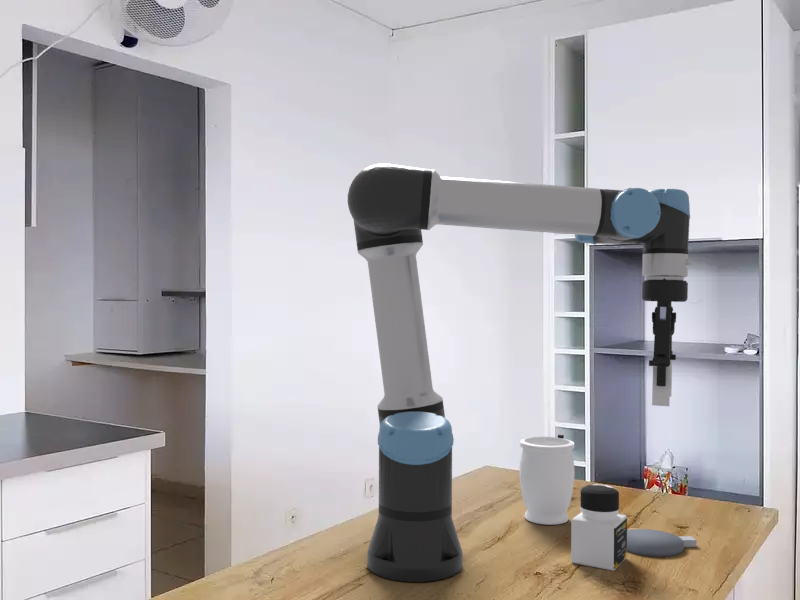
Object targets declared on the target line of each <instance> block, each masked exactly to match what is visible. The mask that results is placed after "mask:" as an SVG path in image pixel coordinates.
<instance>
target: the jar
mask: <svg viewBox="0 0 800 600" xmlns="http://www.w3.org/2000/svg"><path fill="white" fill-rule="evenodd" d="M519 447H520V448H522V450H521V451H522V452H521V455H520V459H519V460H520V461H519V470H518V471H519V472H518V473H519V483H520V488H521V495H522V500H523V501H522V502H523V503H524V506H525V508H526V511H525V514H524V519H526V521H528V522H529V523H530V522H531V523H532V524H533V523H534V524H537V525H547V526H553V525H554V526H555V525H562V524H565V523H567V522H568V521H569V516H568V514H567V510H569V507H570V504H571V501H572V495H573V489H574V483H575V460H574V457H573V453H572V451H573V450H574V449H575V442H574V441H572V440H570V439H567V438H563V439H562V438H558V437H554V436H533V437H531V436H530V437H524V438H522V439H520V440H519Z"/></svg>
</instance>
